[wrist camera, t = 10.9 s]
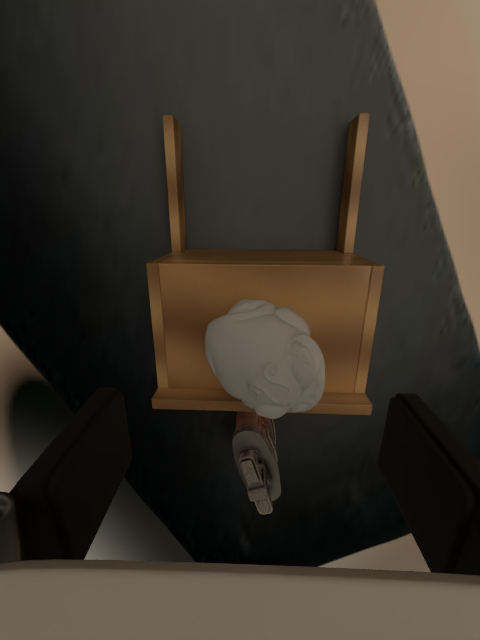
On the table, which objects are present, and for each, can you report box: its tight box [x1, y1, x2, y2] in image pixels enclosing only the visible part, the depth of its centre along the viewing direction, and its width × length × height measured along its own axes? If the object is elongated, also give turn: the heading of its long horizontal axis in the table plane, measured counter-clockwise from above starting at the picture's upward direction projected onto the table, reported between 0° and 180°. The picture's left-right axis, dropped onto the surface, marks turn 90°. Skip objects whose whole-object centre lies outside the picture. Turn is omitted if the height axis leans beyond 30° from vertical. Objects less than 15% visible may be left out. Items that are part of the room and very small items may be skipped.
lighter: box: [232, 411, 281, 514], centre depth 29 cm, size 8×3×10 cm, turn 18°
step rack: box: [146, 113, 385, 415], centre depth 23 cm, size 20×15×10 cm
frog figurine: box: [205, 299, 325, 419], centre depth 17 cm, size 6×7×7 cm
